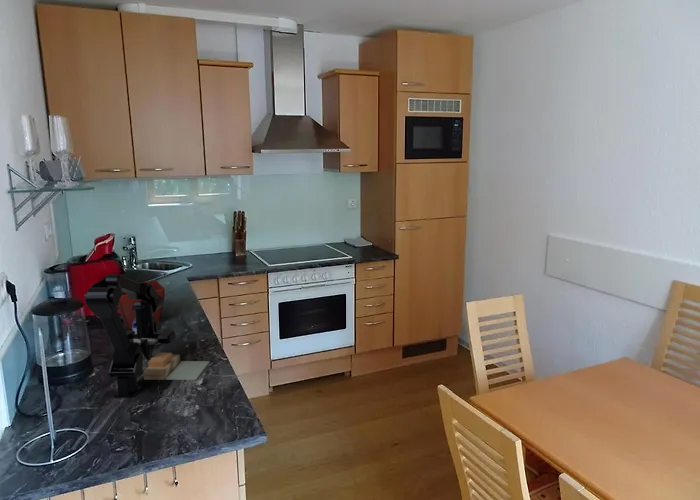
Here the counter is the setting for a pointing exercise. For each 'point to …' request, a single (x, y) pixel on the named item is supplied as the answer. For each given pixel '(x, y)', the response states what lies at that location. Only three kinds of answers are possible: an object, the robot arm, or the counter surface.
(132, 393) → the robot arm
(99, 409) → the counter surface
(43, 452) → the counter surface
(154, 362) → the orange block
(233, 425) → the counter surface
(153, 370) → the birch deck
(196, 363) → the sage mat
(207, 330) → the counter surface
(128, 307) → the plant pot
